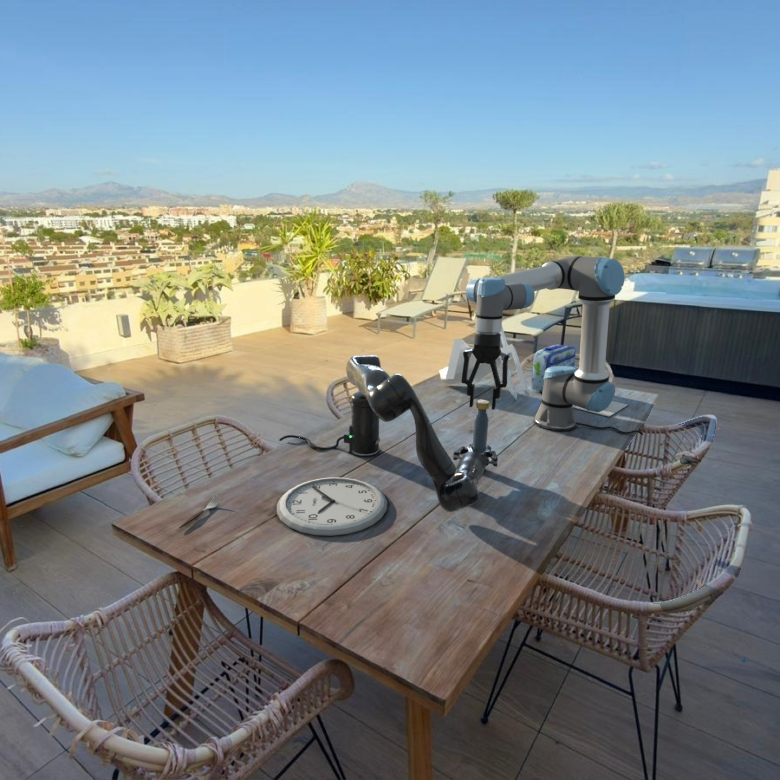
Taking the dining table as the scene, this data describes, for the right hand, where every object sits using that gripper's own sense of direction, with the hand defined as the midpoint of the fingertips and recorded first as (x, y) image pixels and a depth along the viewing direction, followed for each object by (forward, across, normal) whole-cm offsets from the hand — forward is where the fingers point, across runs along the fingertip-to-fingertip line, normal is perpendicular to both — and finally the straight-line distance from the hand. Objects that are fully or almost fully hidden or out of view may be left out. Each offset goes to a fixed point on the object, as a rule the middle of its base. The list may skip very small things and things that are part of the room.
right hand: (482, 406), depth 159 cm
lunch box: (+21, -21, -99) cm, 103 cm away
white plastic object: (+21, +11, -82) cm, 85 cm away
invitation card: (+21, -42, -80) cm, 92 cm away
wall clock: (+21, +34, +36) cm, 54 cm away
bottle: (+21, 0, 0) cm, 21 cm away
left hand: (+14, 0, -3) cm, 15 cm away
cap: (-1, 0, 0) cm, 1 cm away
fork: (+21, +65, +51) cm, 86 cm away
